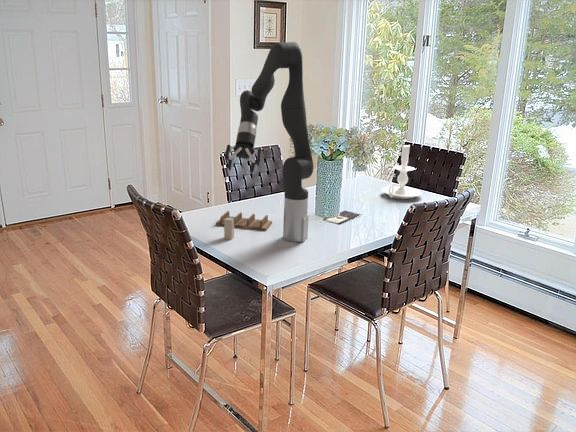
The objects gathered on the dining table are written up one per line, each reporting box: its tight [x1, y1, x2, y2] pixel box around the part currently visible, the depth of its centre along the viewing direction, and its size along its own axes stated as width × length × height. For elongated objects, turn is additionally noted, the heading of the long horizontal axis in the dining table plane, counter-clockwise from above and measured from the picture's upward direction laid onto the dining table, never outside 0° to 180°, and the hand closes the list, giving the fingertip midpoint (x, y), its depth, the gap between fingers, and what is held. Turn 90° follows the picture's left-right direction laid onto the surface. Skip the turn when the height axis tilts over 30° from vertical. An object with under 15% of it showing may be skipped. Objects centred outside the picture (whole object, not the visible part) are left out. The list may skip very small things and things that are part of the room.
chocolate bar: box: [322, 210, 362, 225], centre depth 239 cm, size 9×1×18 cm
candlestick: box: [381, 144, 422, 200], centre depth 272 cm, size 21×25×28 cm
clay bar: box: [223, 218, 235, 241], centre depth 207 cm, size 3×3×8 cm
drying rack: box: [215, 210, 273, 232], centre depth 224 cm, size 22×10×4 cm, turn 77°
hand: (240, 171), depth 209 cm, fingers open, 8 cm apart
